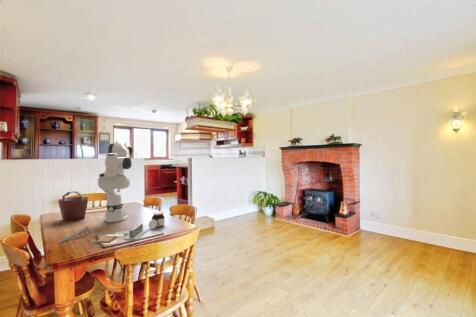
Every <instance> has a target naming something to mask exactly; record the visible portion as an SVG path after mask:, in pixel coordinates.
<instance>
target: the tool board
mask: <svg viewBox="0 0 476 317" xmlns="http://www.w3.org/2000/svg"><path fill="white" fill-rule="evenodd" d="M148 230H149V229H145V228H143V230H142V231H141V232H140V233H139V234H137V235H136V236H135V237H134V238H129V234H127V235H126V236H125V237H123V240H124V241H126V240H127V241H128V240H129V241H137V240H139V239H140V238H141V237H142V236H143V235H144V234H146V233H147V232H148Z"/></svg>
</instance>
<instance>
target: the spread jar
mask: <svg viewBox="0 0 476 317" xmlns="http://www.w3.org/2000/svg"><path fill="white" fill-rule="evenodd" d="M165 218H166V217H165V215H164V214H163V211H154V212H153V216H152V217H151V220H150V221H149V222H148V228H149V229H152V230H154V229H156V228H157V229H158V228H162V227H163V226H165V224H166V223H165V221H166V219H165Z"/></svg>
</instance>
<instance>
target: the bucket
mask: <svg viewBox="0 0 476 317" xmlns="http://www.w3.org/2000/svg"><path fill="white" fill-rule="evenodd" d="M71 193H75V194H77V195H78V196H71V197H66V196H69V195H70V194H71ZM88 202H89V196H84V195H83V194H82V193H81V192H79V191H68V192H66V193H65V194H64V195H62V196H61V199H58V207H59V211H60V214H61V218H62V221H64V220H65V221H64V222H77V221H80V220H84V219H85V218H86V212H87V207H88Z"/></svg>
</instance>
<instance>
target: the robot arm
mask: <svg viewBox="0 0 476 317" xmlns="http://www.w3.org/2000/svg"><path fill="white" fill-rule="evenodd" d="M107 152H108V153H107V154H106V155H105V162H104V166H105V172H102V173H100V174H98V180H97V186H98V188H99V189H101V190H102V191H103V192H104V194H105V195H106V201H107V205H106V210H105V214H104V215H105V216H104V219H103V221H105V222H106V223H116V222H120V221H125V220H127V219H128V218H129V216H130V215H128V214H127V210H125V209H124V207H123V206H124V203H122V196H121V194H120V193H121V190H123V189H127V188H129V187H130V184H131V182H130V179H129V177H127V176H126V175H125V170H129V169H131V167H132V166H133V161H132V155H133V154H134V152H135V150H134V146H132V145H127V142H126V141H125V140H123V139H117V140H116V141H115V142H112V143H110V144H109V145H108V146H107ZM115 190H116V191H115Z"/></svg>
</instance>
